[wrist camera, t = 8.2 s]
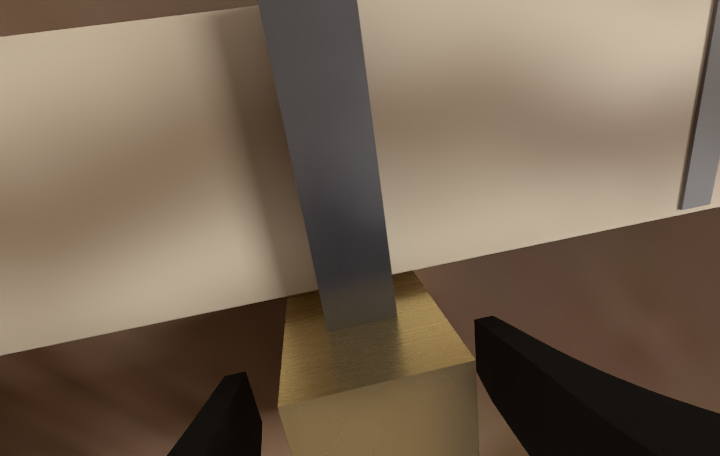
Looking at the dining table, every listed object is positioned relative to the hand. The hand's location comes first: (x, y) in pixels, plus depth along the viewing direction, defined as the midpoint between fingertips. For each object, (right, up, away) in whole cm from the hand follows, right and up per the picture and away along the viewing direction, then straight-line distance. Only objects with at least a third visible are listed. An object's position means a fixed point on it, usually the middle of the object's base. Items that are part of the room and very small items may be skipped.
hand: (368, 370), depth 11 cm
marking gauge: (-1, +4, 0) cm, 4 cm away
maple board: (+1, +7, 0) cm, 7 cm away
